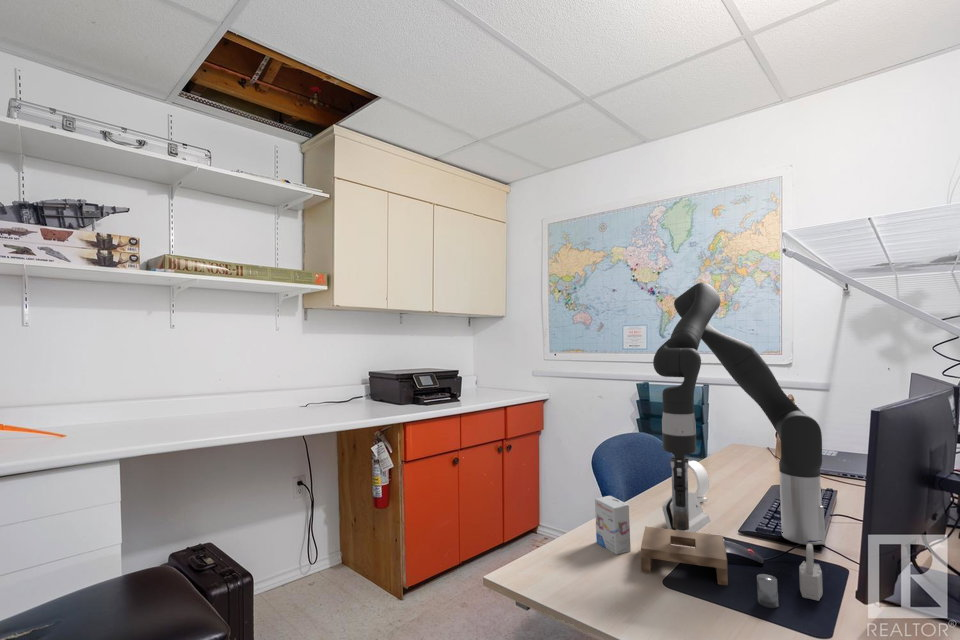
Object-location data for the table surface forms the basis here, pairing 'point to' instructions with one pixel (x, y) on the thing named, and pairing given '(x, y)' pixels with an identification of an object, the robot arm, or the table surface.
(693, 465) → the headphone stand
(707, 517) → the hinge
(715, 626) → the table surface
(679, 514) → the long pin
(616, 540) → the ink box
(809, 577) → the padlock
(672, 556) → the wooden stand with hole
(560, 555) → the table surface
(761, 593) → the short pin
